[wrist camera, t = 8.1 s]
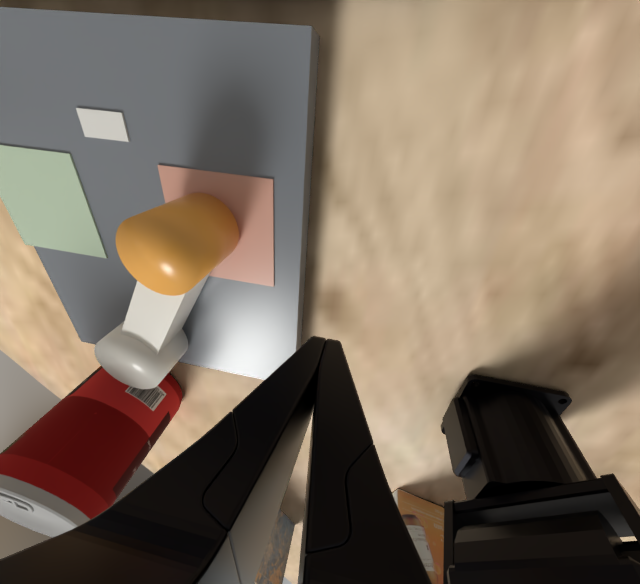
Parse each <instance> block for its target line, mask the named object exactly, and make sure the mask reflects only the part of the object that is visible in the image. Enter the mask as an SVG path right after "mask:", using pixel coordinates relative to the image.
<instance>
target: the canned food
mask: <svg viewBox="0 0 640 584" xmlns="http://www.w3.org/2000/svg"><path fill="white" fill-rule="evenodd" d="M181 401H182V391H181V388H180V386H179V384H178V383H177V381H176V380H175V379H174V378H173V377H172V376H171V375H170V374H169V373H168V374H167V375H166V376H165V377H164V379H163V380H162V381H161V382H160V383H159V384H158V385H157V386H156V387H155V388H152V389H139V388H134V387H131V386H129V385H126V384H124V383H122V382H120V381H119V380H117V379H115V378H114V377H113V376H111V375H110V374H109V373H108V372H107V371H106V370H105V369H104V368H103V367H102V366H100V367H99V368H98V369H97V370H96V371H95V372H93V373H92V374H91V375H90V376H89V377H88V378H86V379H85V380H84V381H83V382H82V383H81V384H80V385H78V386H77V387H76V388H75V389H74V390H73V391H72V392H70V393H69V394H68V395H67V396H66V397H65V398H64V399H62V400H61V401H60V402H59V403H58V404H57V405H56V406H54V407H53V408H52V409H51V410H50V411H49V412H48V413H47V414H45V415H44V416H43V417H42V418H41V419H40V420H39V421H37V422H36V423H35V424H34V425H33V426H32V427H30V428H29V429H28V430H27V431H26V432H25V433H23V434H22V435H21V436H20V437H19V438H18V439H17V440H15V441H14V442H13V443H12V444H11V445H10V446H9V447H7V448H6V449H5V450H4V451H3V452H2V453H1V454H0V515H1V516H3V517H5V518H7V519H9V520H11V521H13V522H15V523H17V524H20V525H22V526H24V527H27V528H29V529H31V530H34V531H36V532H39V533H42V534H45V535H47V536H51V537H55V536H58V535H60V534H63V533H65V532H67V531H69V530H71V529H73V528H75V527H77V526H79V525H81V524H83V523H85V522H87V521H88V520H90V519H92V518H94V517H95V516H97V515H99V514H100V513H102V512H103V511H105V510H106V509H108V508H109V507H111V506H112V505H113V503H114V502H115V500H116V499H117V498H118V496H119V495H120V493H121V492H122V490H123V489H124V487H125V486H126V484H127V483H128V482H129V480H130V478H131V477H132V476H133V474H134V473H135V472H136V470H137V469H138V467H139V466H140V464H141V463H142V461H143V460H144V459H145V457H146V456H147V454H148V453H149V451H150V450H151V448H152V447H153V446H154V444H155V443H156V441H157V440H158V438H159V437H160V435H161V434H162V433H163V431H164V430H165V428H166V427H167V425H168V424H169V422H170V421H171V420H172V418H173V417H174V415H175V414H176V412H177V411H178V409H179V407H180V404H181Z"/></svg>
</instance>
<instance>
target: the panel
mask: <svg viewBox="0 0 640 584" xmlns="http://www.w3.org/2000/svg"><path fill="white" fill-rule="evenodd" d="M319 40H320V36H319V35H318V34H317V32H316V31H315V30H314V28H313V27H312V26H305V25H288V24H272V23H256V22H239V21H223V20H207V19H190V18H174V17H157V16H141V15H125V14H108V13H92V12H75V11H59V10H43V9H26V8H10V7H0V197H1V199H2V201H3V203H4V205H5V206H6V208H7V210H8V212H9V214H10V216H11V218H12V220H13V222H14V224H15V226H16V228H17V230H18V232H19V234H20V236H21V237H22V239H23V241H24V243H25V245H31V246H34V247H35V249H36V251H37V253H38V255H39V257H40V259H41V261H42V263H43V265H44V267H45V269H46V271H47V273H48V275H49V277H50V279H51V281H52V283H53V285H54V287H55V289H56V291H57V293H58V295H59V297H60V299H61V301H62V303H63V305H64V307H65V309H66V311H67V313H68V315H69V317H70V319H71V321H72V323H73V325H74V327H75V329H76V331H77V333H78V335H79V337H80V339H81V341H82V342H87V343H91V344H96V343H97V342H98V341H100V340H101V339H102V338H103V337H105V336H106V335H107V334H108V333H110V332H111V331H112V330H114V329H115V328H116V327H117V326H119V325H120V324H121V323H122V322H124V321H125V318H126V315H127V312H128V309H129V305H130V302H131V299H132V296H133V293H134V290H135V287H136V283H137V280H136V279H135V278H134V277H133V276H132V275H131V274H130V273H129V271H128V270H127V269H126V268H125V266H124V264H123V263H122V261H121V259H120V257H119V254H118V252H117V248H116V232H117V229H118V227H119V225H120V224H121V223H122V222H123V221H124V220H126V219H128V218H130V217H132V216H135V215H137V214H140V213H142V212H145V211H147V210H150V209H152V208H155V207H158V206H160V205H163V204H165V203H168V202H170V201H173V200H175V199H178V198H180V197H183V196H186V195H188V194H191V193H205V194H209V195H211V196H213V197H215V198H217V199H219V200H220V201H221V202H223V203H224V204H225V205H226V206H227V207H228V208H229V210H230V211H231V212H232V214H233V216H234V218H235V220H236V222H237V225H238V230H239V240H238V244H237V246H236V248H235V250H234V251H233V252H232V253H231V254H230V255H229V256H228V257H226V258H225V259H224V260H223V261H222V262H221V263H220V264H219V265H218V266H216V267H215V268H214V269H213V270H212V271H211V272H210V274H209V276H208V278H207V280H206V282H205V284H204V286H203V288H202V290H201V292H200V294H199V296H198V298H197V300H196V302H195V304H194V306H193V308H192V310H191V312H190V314H189V316H188V318H187V320H186V322H185V323H184V325H183V327H182V330H183V331H184V333H185V334H186V337H187V340H188V349H187V351H186V352H185V354H184V355H183V356H182V357H181V358H180V359H179V361H178V362H182V363H187V364H191V365H196V366H201V367H206V368H210V369H215V370H220V371H225V372H229V373H234V374H239V375H244V376H248V377H253V378H258V379H263V380H265V379H267V378H268V377H269V376H270V375H271V374H272V373H273V372H274V371H275V370H276V369H277V368H278V367H280V366H281V365H282V364H283V363H284V362H285V361H286V360H287V359H288V358H289V357H290V356H292V355H293V354H294V353H295V352H296V351H297V350H298V349H299V348H300V347H301V338H302V321H303V305H304V288H305V272H306V255H307V239H308V222H309V206H310V189H311V172H312V156H313V139H314V123H315V106H316V90H317V73H318V57H319Z"/></svg>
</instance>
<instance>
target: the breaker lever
mask: <svg viewBox="0 0 640 584" xmlns="http://www.w3.org/2000/svg"><path fill="white" fill-rule="evenodd" d="M238 240H239V230H238V225H237V222H236V220H235V218H234V216H233V214H232V212H231V211H230V210H229V208H228V207H227V206H226V205H225V204H224V203H223V202H221V201H220V200H219V199H217V198H215V197H213V196H211V195H209V194H205V193H191V194H188V195H186V196H183V197H180V198H178V199H175V200H173V201H170V202H168V203H165V204H163V205H160V206H158V207H155V208H152V209H150V210H147V211H145V212H142V213H140V214H137V215H135V216H132V217H130V218H128V219H126V220H124V221H123V222H122V223H121V224H120V225H119V227H118V229H117V232H116V248H117V252H118V254H119V257H120V259H121V261H122V263H123V264H124V266H125V268H126V269H127V270H128V271H129V273H130V274H131V275H132V276H133V277H134V278H135V279H136V280H137V283H136V287H135V290H134V293H133V296H132V299H131V302H130V305H129V309H128V312H127V315H126V318H125V321H124V322H122V323H121V324H120V325H119V326H117V327H116V328H115V329H114V330H112V331H111V332H110V333H108V334H107V335H106V336H105V337H103V338H102V339H101V340H100V341H98V342H97V343H96V345H95V349H94V350H95V355H96V358H97V360H98V362H99V363H100V365H101V366H102V367H103V368H104V369H105V370H106V371H107V372H108V373H109V374H110V375H111V376H113V377H114V378H115V379H117V380H119V381H120V382H122V383H124V384H126V385H129V386H131V387H134V388H139V389H152V388H155V387H156V386H157V385H158V384H159V383H160V382H161V381H162V380H163V379H164V377H165V376H166V375H167V374H168V373H169V371H170V370H171V369H172V368H173V367H174V365H175V364H176V363H177V362H178V361H179V359H180V358H181V357H182V356H183V355H184V354H185V352H186V351H187V349H188V340H187V337H186V334H185V333H184V331H183V330H182V327H183V325H184V323H185V322H186V320H187V318H188V316H189V314H190V312H191V310H192V308H193V306H194V304H195V302H196V300H197V298H198V296H199V294H200V292H201V290H202V288H203V286H204V284H205V282H206V280H207V278H208V276H209V274H210V272H211V271H212V270H213V269H214V268H215V267H216V266H218V265H219V264H220V263H221V262H222V261H223V260H224V259H225V258H226V257H228V256H229V255H230V254H231V253H232V252H233V251H234V250H235V248H236V246H237V244H238Z"/></svg>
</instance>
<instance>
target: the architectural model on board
mask: <svg viewBox="0 0 640 584" xmlns="http://www.w3.org/2000/svg"><path fill="white" fill-rule="evenodd" d="M294 526H295V524H294V523H293V522H292V521H291V520H290V519H289V518H288V517H287V516H286V515H285V514H284V513H283V512H282V511H281V510H280V509H279V512H278V515H277V518H276V521H275V523H274V526H273V529H272V532H271V535H270V538H269V541H268V544H267V547H266V549H265V552H264V555H263V558H262V561H261V564H260V567H259V570H258V573H257V576H256V578H255V581H254V584H282V582H283V577H284V573H285V568H286V563H287V559H288V554H289V549H290V545H291V540H292V535H293V531H294Z"/></svg>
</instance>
